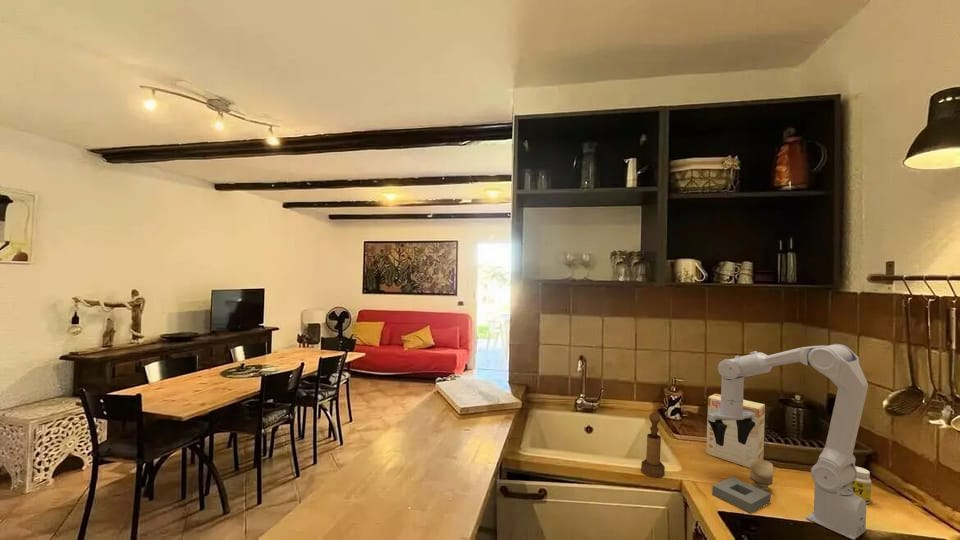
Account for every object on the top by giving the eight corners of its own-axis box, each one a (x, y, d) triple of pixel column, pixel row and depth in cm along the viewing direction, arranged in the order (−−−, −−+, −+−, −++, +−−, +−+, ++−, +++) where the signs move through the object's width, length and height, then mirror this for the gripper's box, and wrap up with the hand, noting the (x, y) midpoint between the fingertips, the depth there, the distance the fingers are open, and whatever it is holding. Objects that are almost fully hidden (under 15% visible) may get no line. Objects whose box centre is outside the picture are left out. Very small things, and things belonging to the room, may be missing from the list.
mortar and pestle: (650, 478, 123) (652, 418, 123) (636, 468, 129) (638, 410, 129) (669, 476, 125) (671, 416, 125) (654, 465, 131) (656, 409, 131)
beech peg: (775, 491, 118) (776, 464, 118) (766, 496, 115) (767, 469, 115) (755, 482, 123) (756, 456, 123) (745, 486, 120) (746, 460, 120)
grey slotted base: (770, 502, 112) (770, 493, 112) (750, 513, 107) (751, 503, 107) (732, 485, 120) (732, 476, 120) (712, 494, 115) (712, 485, 115)
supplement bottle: (842, 496, 116) (844, 466, 116) (853, 493, 118) (854, 464, 118) (863, 506, 112) (865, 475, 111) (874, 503, 113) (875, 472, 113)
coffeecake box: (763, 464, 134) (765, 404, 134) (757, 471, 129) (759, 408, 129) (713, 448, 145) (715, 392, 145) (705, 453, 141) (707, 396, 140)
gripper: (742, 394, 130) (741, 437, 130) (701, 395, 128) (699, 439, 128) (761, 401, 123) (760, 447, 123) (718, 403, 121) (716, 449, 121)
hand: (730, 444), depth 125 cm, fingers open, 7 cm apart
